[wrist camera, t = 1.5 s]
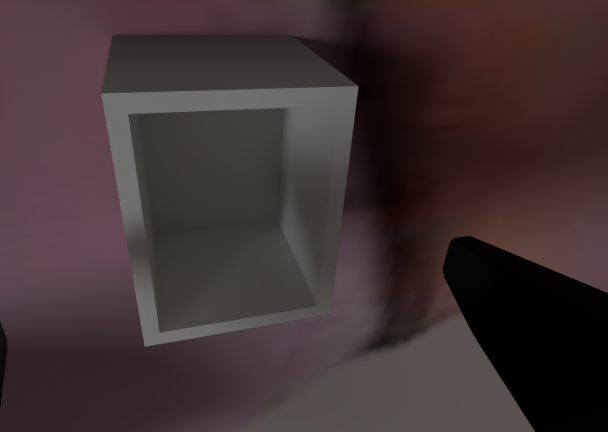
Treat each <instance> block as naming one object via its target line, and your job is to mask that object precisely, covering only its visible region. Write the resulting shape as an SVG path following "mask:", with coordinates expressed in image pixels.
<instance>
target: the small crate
mask: <svg viewBox="0 0 608 432" xmlns="http://www.w3.org/2000/svg"><path fill="white" fill-rule="evenodd" d="M357 93H358V86H357V85H356V84H355V83H354V82H352V81H351V80H350V79H348V78H347V77H346V76H344V75H343V74H342V73H340V72H339V71H338V70H337V69H335V68H334V67H333V66H331V65H330V64H329V63H327V62H326V61H325V60H323V59H322V58H321V57H320V56H318V55H317V54H316V53H314V52H313V51H312V50H310V49H309V48H308V47H306V46H305V45H304V44H303V43H301V42H300V41H299V40H297V39H296V38H295V37H293V36H114V35H112V40H111V45H110V50H109V56H108V61H107V66H106V71H105V77H104V82H103V87H102V93H101V95H102V100H103V106H104V112H105V118H106V124H107V130H108V135H109V141H110V147H111V153H112V159H113V165H114V170H115V176H116V182H117V188H118V194H119V200H120V206H121V211H122V217H123V223H124V229H125V235H126V241H127V246H128V252H129V258H130V264H131V270H132V276H133V281H134V287H135V293H136V299H137V305H138V311H139V316H140V322H141V328H142V334H143V340H144V346H145V347H146V346H152V345H158V344H164V343H169V342H175V341H181V340H186V339H192V338H198V337H204V336H209V335H215V334H221V333H226V332H232V331H238V330H244V329H249V328H255V327H261V326H266V325H272V324H278V323H284V322H289V321H295V320H301V319H306V318H312V317H318V316H323V315H329V314H330V310H331V302H332V294H333V286H334V278H335V270H336V262H337V254H338V246H339V238H340V230H341V222H342V214H343V206H344V198H345V190H346V182H347V174H348V166H349V158H350V150H351V142H352V134H353V126H354V118H355V110H356V102H357Z"/></svg>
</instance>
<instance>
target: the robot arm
mask: <svg viewBox="0 0 608 432" xmlns="http://www.w3.org/2000/svg"><path fill="white" fill-rule="evenodd" d="M443 275H444V278H445V280H446V282H447V284H448V286H449V288H450V290H451V292H452V294H453V296H454V298H455V300H456V302H457V304H458V306H459V308H460V310H461V312H462V314H463V316H464V318H465V320H466V322H467V324H468V326H469V327H470V329H471V331H472V333H473V335H474V336H475V338H476V339H477V341H478V343H479V345H480V346H481V348H482V349H483V351H484V352H485V354H486V355H487V357H488V359H489V360H490V362H491V363H492V365H493V366H494V368H495V370H496V371H497V373H498V374H499V376H500V377H501V379H502V380H503V382H504V384H505V385H506V387H507V388H508V390H509V391H510V393H511V395H512V396H513V398H514V399H515V401H516V402H517V404H518V406H519V407H520V409H521V410H522V412H523V413H524V415H525V416H526V418H527V420H528V421H529V423H530V424H531V426H532V428H533V429H534V431H535V432H608V293H606V292H604V291H601V290H599V289H597V288H594V287H592V286H589V285H587V284H585V283H582V282H580V281H577V280H575V279H573V278H570V277H568V276H565V275H563V274H561V273H558V272H556V271H553V270H551V269H548V268H546V267H544V266H541V265H539V264H536V263H534V262H532V261H529V260H527V259H524V258H522V257H520V256H517V255H515V254H512V253H510V252H507V251H505V250H503V249H500V248H498V247H495V246H493V245H491V244H488V243H486V242H483V241H481V240H479V239H476V238H474V237H471V236H464V237H457V238H454V239H452V240H451V242H450V244H449V247H448V251H447V254H446V258H445V261H444V265H443ZM6 356H7V339H6V335H5V332H4V330H3V327H2V325H1V322H0V406H1V398H2V390H3V381H4V373H5V365H6Z"/></svg>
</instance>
